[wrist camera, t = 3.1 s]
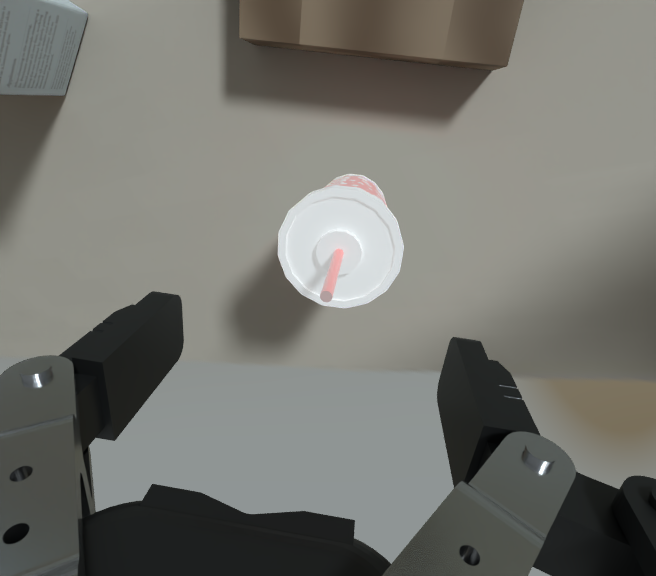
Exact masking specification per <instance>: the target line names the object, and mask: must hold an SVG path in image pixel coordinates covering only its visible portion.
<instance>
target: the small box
mask: <svg viewBox="0 0 656 576" xmlns="http://www.w3.org/2000/svg"><path fill="white" fill-rule="evenodd" d="M87 17H88V14H87V12H86V11H84V10H83V9H81V8H79V7H78V6H76V5H75V4H73V3H72V2H70V1H69V0H0V95H53V96H64V95H65V93H66V90H67V86H68V83H69V79H70V76H71V72H72V69H73V66H74V62H75V59H76V55H77V52H78V48H79V45H80V41H81V38H82V34H83V31H84V27H85V24H86V20H87Z"/></svg>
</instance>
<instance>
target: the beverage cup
mask: <svg viewBox="0 0 656 576" xmlns="http://www.w3.org/2000/svg"><path fill="white" fill-rule="evenodd" d="M403 250H404V245H403V241H402V237H401V233H400V229H399V225H398V222H397V219H396V218H395V217H394V215H393V214H392V213H391V211H390V210H389V209H388V207H387V204H386V201H385V198H384V195H383V192H382V191H381V190H380V189H379V187H378V186H377V185H376V183H375V182H374V181H372V180H370V179H368V178H367V177H365V176H363V175H356V174H347V175H343V176H340V177H337V178H335V179H334V180H333V181H332V182H330V183H329V184H328V185H327V186H326V187H324V188H323V189H319V190H316V191H313V192H310V193H309V194H308V195H307V196H306V197H304V198H303V199H302V200H301V201H300V202H298V203H297V204H296V205H295V206H294V207H293V208H291V209H290V210H289V212H288V214H287V216H286V218H285V220H284V222H283V224H282V226H281V228H280V230H279V235H278V258H279V260H280V263H281V266H282V268H283V271H284V274H285V276H286V278H287V279H288V280H289V281H290V282H291V284H292V285H293V286H294V287H295V288H296V289H297V290H298V291H299V292H300V294H301V295H303V296H305V297H307V298H309V299H311V300H313V301H315V302H317V303H319V304H321V305H324V306H331V307H338V308H349V307H354V306H358V305H362V304H367V303H369V302H370V301H372V300H373V299H375V298H376V297H378V296H379V295H381V294H382V293H384V292H385V291H387V290H388V288H389V287H390V285H391V284H392V282H393V281H394V279H395V278H396V276H397V275H398V273H399V272H400V267H401V261H402V256H403Z"/></svg>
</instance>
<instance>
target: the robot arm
mask: <svg viewBox="0 0 656 576" xmlns="http://www.w3.org/2000/svg"><path fill="white" fill-rule="evenodd" d="M183 342H184V337H183V318H182V302H181V298H180V296H179V295H174V294H168V293H161V292H154V291H153V292H151V293H149V294H148V295H147V296H146V297H144V298H143V299H142V300H141V301H139V302H138V303H137V304H136V305H130V306H128V307H125V308H123V309H120V310H118V311H116V312H114V313H113V314H111V315H110V316H109V317H108V318H106V319H105V320H104V321H103V323H100V324H99V325H97V326H96V327H95V328H94V329H93V331H90V332H88V333H87V334H86V335H85V336H83V337H82V338H81V339H80V340H78V341H77V342H76V343H74V344H73V345H72V346H71V347H69V348H68V349H67V350H66V351H64V352H63V353H62V354H60V355H59V356H52V355H49V356H39V357H34V358H30V359H27V360H24V361H21V362H19V363H17V364H15V365H13V366H11V367H9V368H8V369H7V370H6V371H4V372H3V373H2V374H1V375H0V576H528V574H529V572H530V570H531V568H532V567H535V568H537V569H539V570H541V571H543V572H545V573H547V574H549V575H551V576H656V479H653V478H649V477H645V476H631V477H629V478H627V479H626V480H625V481H624V482H623V484H622V486H621V487H620V489H617V488H614V487H612V486H609V485H607V484H604V483H602V482H599V481H597V480H594V479H592V478H589V477H587V476H584V475H582V474H580V473H578V472H576V470H575V466H574V464H573V462H572V460H571V458H570V457H569V456H568V455H567V454H566V452H565V451H563V450H562V449H561V448H560V447H559V446H557V445H556V444H555V443H553V442H552V441H550V440H548V439H546V438H544V437H542V436H540V433H539V431H538V429H537V427H536V425H535V423H534V421H533V419H532V417H531V415H530V413H529V411H528V409H527V407H526V405H525V402H524V401H523V400H522V396H521V394H520V392H519V390H518V389H516V388H517V386H516V384H515V382H514V380H513V378H512V376H511V374H510V373H509V372H508V371H507V370H506V369H505V368H504V367H503V366H502V365H501V364H500V363H499V362H498V361H493V360H488V357H487V355H486V353H485V350H484V348H483V346H482V343H481V342H480V341H477V340H470V339H463V338H457V337H453V338H452V339H451V340H450V343H449V346H448V350H447V354H446V357H445V361H444V364H443V368H442V372H441V375H440V380H439V383H438V391H437V401H438V407H439V412H440V418H441V423H442V428H443V433H444V438H445V443H446V449H447V453H448V458H449V464H450V469H451V474H452V480H453V485H454V489H453V490H452V492H451V493H450V494H449V495H448V496H447V498H446V499H445V500H444V501H443V502H442V504H441V505H440V506H439V507H438V509H437V510H436V511H435V512H434V513H433V514H432V516H431V517H430V518H429V519H428V521H427V522H426V523H425V524H424V525H423V527H422V528H421V529H420V530H419V532H418V533H417V534H416V535H415V536H414V537H413V539H412V540H411V541H410V542H409V544H408V545H407V546H406V547H405V548H404V550H403V551H402V552H401V553H400V554H399V556H398V557H397V558H396V559H395V560H394V562H393V563H392V564H390V562H388V560H386V559H385V558H384V557H383V556H382V555H380V554H379V553H378V552H376V551H375V550H374V549H373V548H371V547H369V546H368V545H366V544H364V543H363V542H361V541H359V540H357V539H354V524H355V520H350V519H345V518H339V517H334V516H328V515H323V514H317V513H311V512H306V511H300V512H284V513H283V512H282V513H267V514H246V513H243V512H241V511H239V510H237V509H235V508H232V507H230V506H228V505H226V504H224V503H222V502H220V501H218V500H216V499H213V498H211V497H209V496H207V495H205V494H203V493H200V492H195V491H189V490H184V489H178V488H172V487H167V486H161V485H156V484H152V485H151V487H150V489H149V490H148V492H147V494H146V495H145V497H144V499H143V500H142V501H135V502H129V503H124V504H120V505H117V506H113V507H109V508H107V509H104V510H102V511H99V512H96V511H95V501H94V489H93V478H92V467H91V455H90V449H89V445H90V444H91V442H92V441H93V440H94V439H95V438H101V439H107V440H113V441H115V440H116V438H117V437H118V436H119V435H120V433H121V432H122V431H123V430H124V428H125V427H126V426H127V425H128V423H129V422H130V421H131V419H132V418H133V417H134V416H135V414H136V413H137V412H138V411H139V409H140V408H141V407H142V405H143V404H144V403H145V401H146V400H147V399H148V398H149V396H150V395H151V394H152V393H153V391H154V390H155V389H156V388H157V386H158V385H159V384H160V383H161V381H162V380H163V379H164V377H165V376H166V375H167V373H168V372H169V371H170V370H171V369H172V367H173V366H174V365H175V363H176V362H177V361H178V359H179V358H180V355H181V353H182V349H183Z"/></svg>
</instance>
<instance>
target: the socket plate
mask: <svg viewBox="0 0 656 576" xmlns="http://www.w3.org/2000/svg"><path fill="white" fill-rule="evenodd" d="M523 2H524V0H240V10H239V38H241V39H243V40H245V41H247V42H250V43H252V44H254V45H259V46H269V47H278V48H287V49H297V50H306V51H315V52H325V53H334V54H343V55H352V56H362V57H371V58H380V59H390V60H399V61H408V62H418V63H427V64H436V65H446V66H455V67H464V68H474V69H483V70H492V71H493V70H496V69H500V68H503V67H506V66H507V65H508V61H509V57H510V53H511V49H512V45H513V41H514V37H515V33H516V30H517V26H518V22H519V18H520V14H521V10H522V6H523Z"/></svg>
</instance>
